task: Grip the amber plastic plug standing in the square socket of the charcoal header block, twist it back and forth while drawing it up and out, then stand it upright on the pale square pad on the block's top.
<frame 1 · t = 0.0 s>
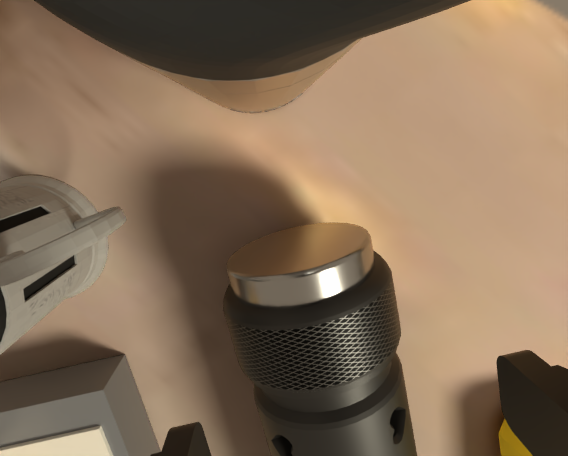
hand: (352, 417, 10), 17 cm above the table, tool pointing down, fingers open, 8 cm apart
header block: (48, 443, 30), on the table
white pitcher: (79, 224, 26), on the table
muzzle brake: (328, 389, 30), on the table
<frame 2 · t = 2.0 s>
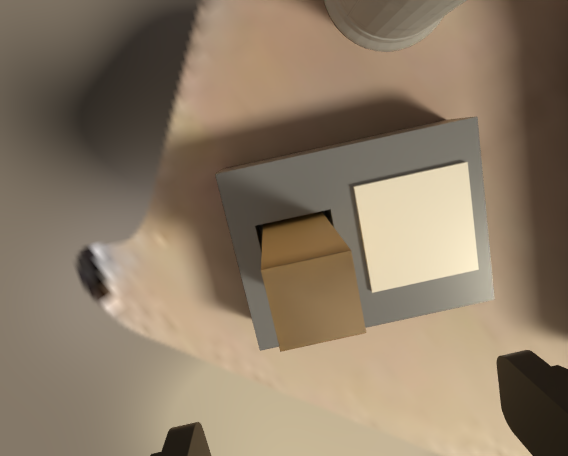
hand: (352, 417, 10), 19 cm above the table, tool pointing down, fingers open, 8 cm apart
header block: (349, 226, 28), on the table
plug: (296, 239, 28), resting on header block
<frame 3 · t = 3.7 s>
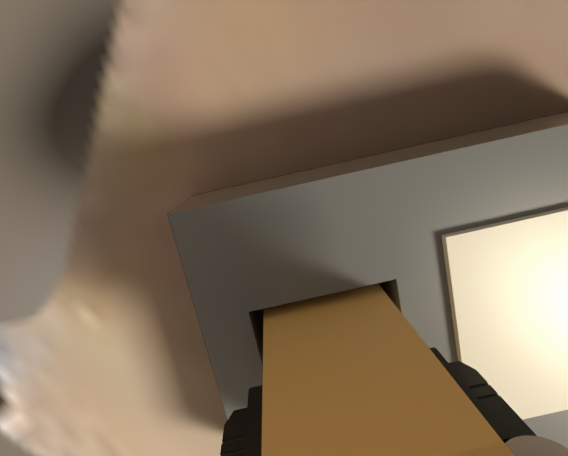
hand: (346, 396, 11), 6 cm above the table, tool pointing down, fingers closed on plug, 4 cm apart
header block: (410, 290, 17), on the table
plug: (321, 315, 16), point 1 cm above the table, touching gripper, header block
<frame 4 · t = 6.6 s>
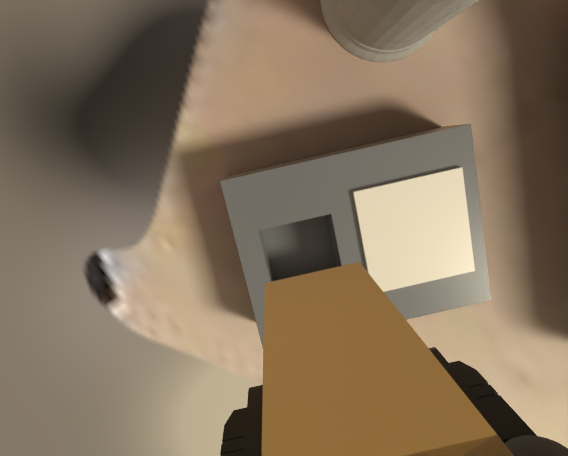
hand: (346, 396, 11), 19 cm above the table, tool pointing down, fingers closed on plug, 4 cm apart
header block: (349, 230, 29), on the table
plug: (321, 316, 16), point 13 cm above the table, touching gripper
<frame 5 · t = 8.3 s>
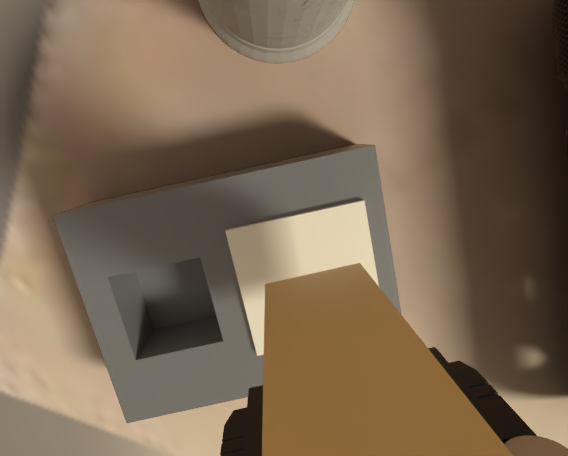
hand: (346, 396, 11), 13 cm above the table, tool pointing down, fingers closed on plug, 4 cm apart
header block: (246, 268, 24), on the table
plug: (321, 317, 16), point 8 cm above the table, touching gripper
when the fingers open (11 cm above the table, at t = 9.5 s): plug drops 1 cm, resting on header block.
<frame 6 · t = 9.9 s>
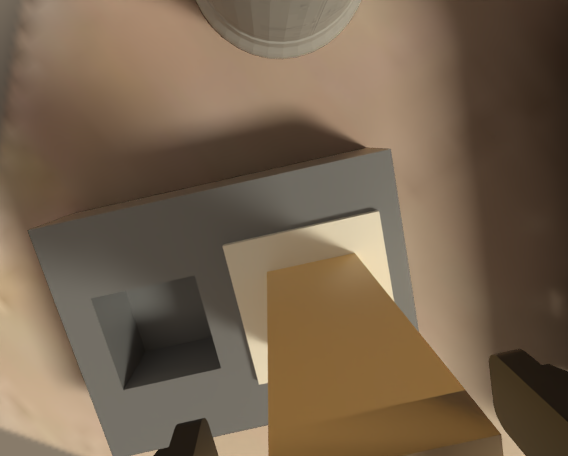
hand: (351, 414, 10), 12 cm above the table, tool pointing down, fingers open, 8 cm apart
header block: (246, 284, 22), on the table
plug: (319, 303, 18), point 4 cm above the table, touching header block
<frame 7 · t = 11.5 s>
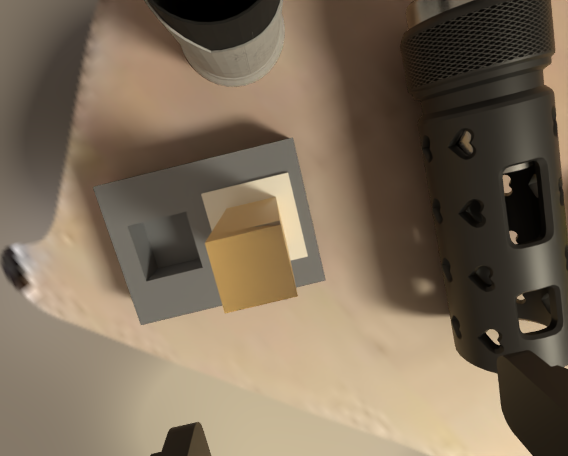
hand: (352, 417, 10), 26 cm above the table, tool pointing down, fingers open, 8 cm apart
header block: (219, 225, 35), on the table
white pitcher: (261, 17, 32), on the table
muzzle brake: (455, 178, 36), on the table
plug: (257, 226, 31), point 4 cm above the table, touching header block
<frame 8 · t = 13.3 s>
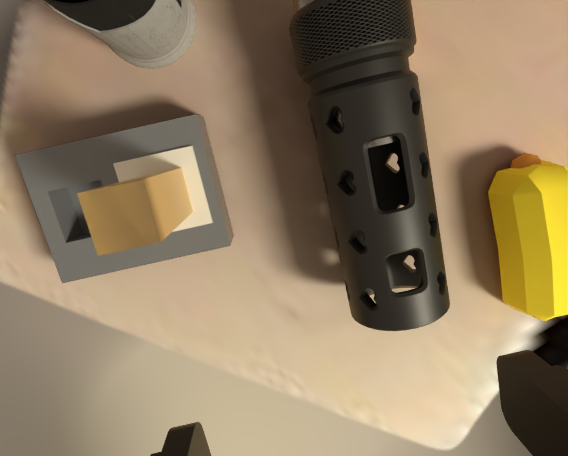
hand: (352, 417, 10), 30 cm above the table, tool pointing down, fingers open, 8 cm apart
yellow banana: (521, 235, 42), on the table
header block: (140, 195, 39), on the table
white pitcher: (175, 5, 35), on the table
muzzle brake: (357, 157, 39), on the table
plug: (165, 194, 34), point 4 cm above the table, touching header block
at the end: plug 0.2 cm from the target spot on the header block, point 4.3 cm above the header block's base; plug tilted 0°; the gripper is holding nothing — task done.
